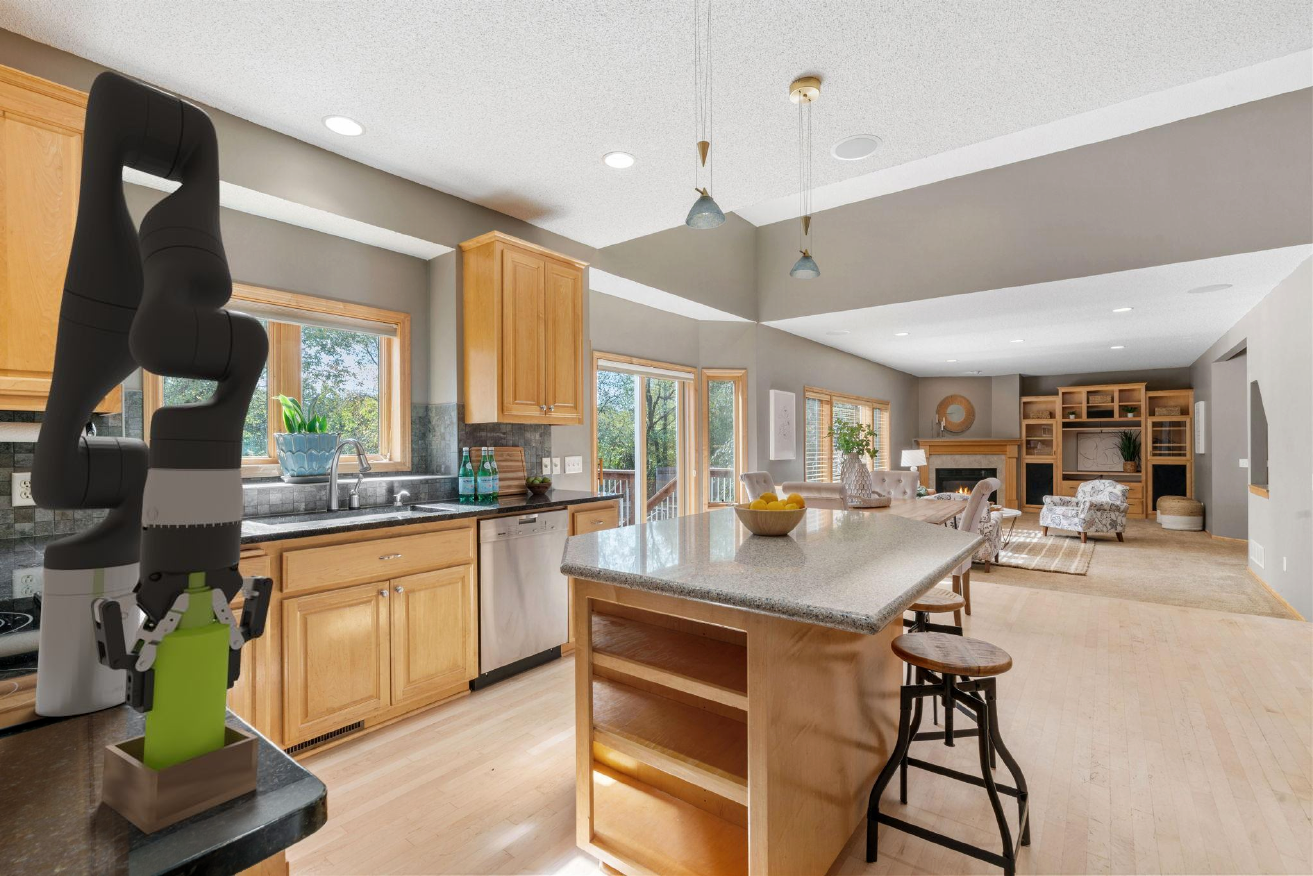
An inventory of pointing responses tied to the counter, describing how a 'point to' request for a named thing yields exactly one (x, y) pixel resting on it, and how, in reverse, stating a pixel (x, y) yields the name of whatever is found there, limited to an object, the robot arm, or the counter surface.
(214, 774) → the walnut caddy
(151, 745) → the soap dispenser
